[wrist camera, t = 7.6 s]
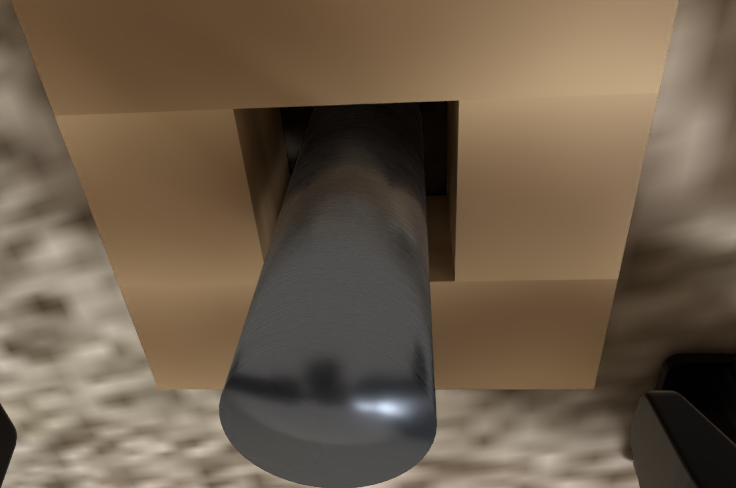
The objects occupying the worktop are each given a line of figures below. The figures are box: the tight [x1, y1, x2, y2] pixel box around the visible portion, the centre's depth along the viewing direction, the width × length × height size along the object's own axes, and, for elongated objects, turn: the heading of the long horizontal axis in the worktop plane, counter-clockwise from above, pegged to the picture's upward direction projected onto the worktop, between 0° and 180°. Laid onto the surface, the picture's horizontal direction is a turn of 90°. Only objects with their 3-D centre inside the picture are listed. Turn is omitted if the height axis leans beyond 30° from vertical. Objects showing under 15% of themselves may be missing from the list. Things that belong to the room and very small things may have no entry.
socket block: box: [11, 0, 679, 389], centre depth 15 cm, size 12×12×4 cm
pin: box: [219, 102, 437, 488], centre depth 13 cm, size 3×3×10 cm
